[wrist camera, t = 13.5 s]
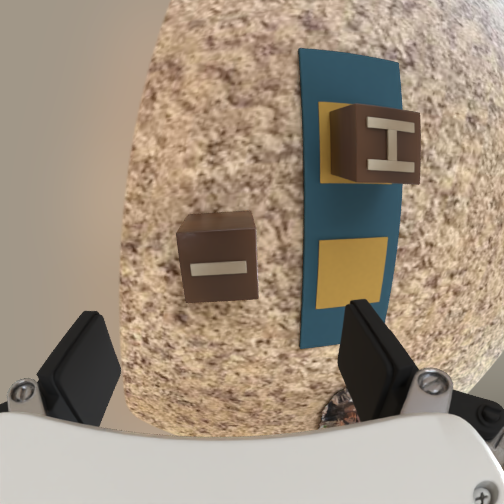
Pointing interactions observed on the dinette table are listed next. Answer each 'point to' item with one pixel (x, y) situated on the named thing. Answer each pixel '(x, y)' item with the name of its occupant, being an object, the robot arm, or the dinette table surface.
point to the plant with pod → (339, 411)
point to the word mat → (343, 198)
